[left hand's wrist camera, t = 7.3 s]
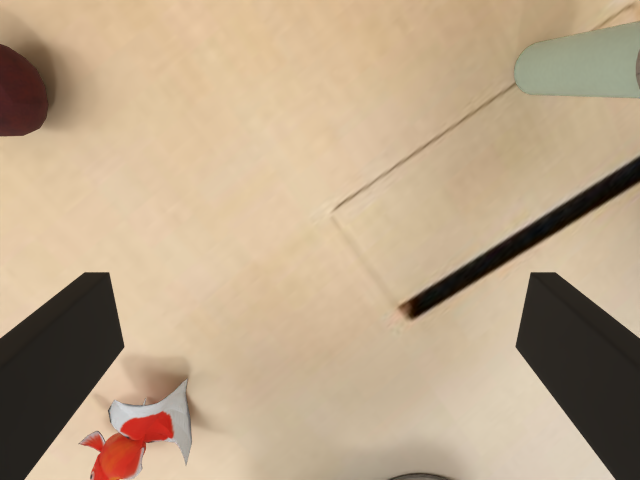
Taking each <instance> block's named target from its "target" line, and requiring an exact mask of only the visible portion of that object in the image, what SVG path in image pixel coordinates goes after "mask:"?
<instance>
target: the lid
mask: <svg viewBox="0 0 640 480" xmlns="http://www.w3.org/2000/svg"><path fill="white" fill-rule="evenodd" d="M636 79H637V83H638V86H639V89H640V50H639V53H638V56H637V60H636Z"/></svg>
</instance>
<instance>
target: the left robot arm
mask: <svg viewBox="0 0 640 480" xmlns="http://www.w3.org/2000/svg"><path fill="white" fill-rule="evenodd" d="M123 348H124V342H123V337H122V332H121V327H120V323H119V318H118V313H117V308H116V303H115V298H114V293H113V289H112V284H111V279H110V274H109V272H85V273H83V274H82V275H81V276H79V277H78V278H77V279H76V280H74V281H73V282H72V283H70V284H69V285H68V286H67V287H65V288H64V289H63V290H62V291H60V292H59V293H58V294H56V295H55V296H54V297H53V298H51V299H50V300H49V301H48V302H46V303H45V304H44V305H42V306H41V307H40V308H39V309H37V310H36V311H35V312H33V313H32V314H31V315H30V316H28V317H27V318H26V319H25V320H23V321H22V322H21V323H19V324H18V325H17V326H16V327H14V328H13V329H12V330H11V331H9V332H8V333H7V334H5V335H4V336H3V337H2V338H0V480H24V479H25V478H26V477H27V475H28V474H29V473H30V471H31V470H32V469H33V467H34V466H35V465H36V463H37V462H38V461H39V460H40V458H41V457H42V456H43V454H44V453H45V452H46V450H47V449H48V448H49V446H50V445H51V444H52V442H53V441H54V440H55V438H56V437H57V436H58V434H59V433H60V432H61V430H62V429H63V428H64V426H65V425H66V424H67V422H68V421H69V420H70V418H71V417H72V416H73V414H74V413H75V412H76V410H77V409H78V408H79V407H80V405H81V404H82V403H83V401H84V400H85V399H86V397H87V396H88V395H89V393H90V392H91V391H92V389H93V388H94V387H95V385H96V384H97V383H98V381H99V380H100V379H101V377H102V376H103V375H104V373H105V372H106V371H107V369H108V368H109V367H110V365H111V364H112V363H113V361H114V360H115V359H116V357H117V356H118V355H119V354H120V352H121V351H122V350H123ZM516 348H517V350H518V351H519V352H520V354H521V355H522V356H523V357H524V359H525V360H526V361H527V363H528V364H529V365H530V367H531V368H532V369H533V371H534V372H535V373H536V375H537V376H538V377H539V379H540V380H541V381H542V383H543V384H544V385H545V387H546V388H547V389H548V391H549V392H550V393H551V395H552V396H553V397H554V399H555V400H556V401H557V403H558V404H559V405H560V407H561V408H562V409H563V410H564V412H565V413H566V414H567V416H568V417H569V418H570V420H571V421H572V422H573V424H574V425H575V426H576V428H577V429H578V430H579V432H580V433H581V434H582V436H583V437H584V438H585V440H586V441H587V442H588V444H589V445H590V446H591V448H592V449H593V450H594V452H595V453H596V454H597V456H598V457H599V458H600V460H601V461H602V462H603V463H604V465H605V466H606V467H607V469H608V470H609V471H610V473H611V474H612V475H613V477H614V478H615V479H616V480H640V338H638V337H637V336H636V335H635V334H633V333H632V332H631V331H629V330H628V329H627V328H626V327H624V326H623V325H622V324H621V323H619V322H618V321H617V320H615V319H614V318H613V317H612V316H610V315H609V314H608V313H607V312H605V311H604V310H603V309H601V308H600V307H599V306H598V305H596V304H595V303H594V302H592V301H591V300H590V299H589V298H587V297H586V296H585V295H584V294H582V293H581V292H580V291H578V290H577V289H576V288H575V287H573V286H572V285H571V284H570V283H568V282H567V281H566V280H564V279H563V278H562V277H561V276H559V275H558V274H557V273H555V272H531V274H530V279H529V284H528V289H527V293H526V298H525V303H524V308H523V313H522V318H521V323H520V327H519V332H518V337H517V342H516ZM392 480H447V479H444V478H441V477H438V476H433V475H425V474H415V475H407V476H402V477H398V478H395V479H392Z"/></svg>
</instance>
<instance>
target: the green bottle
mask: <svg viewBox="0 0 640 480" xmlns="http://www.w3.org/2000/svg"><path fill="white" fill-rule="evenodd" d="M639 50H640V21H637V22H632V23H628V24H623V25H618V26H613V27H609V28H604V29H599V30H594V31H589V32H585V33H580V34H575V35H570V36H566V37H561V38H556V39H551V40H546V41H542V42H537V43H534V44H532V45H530V46H529V47H527V48H526V49H525V50H524V51H523V52H522V53H521V54H520V56H519V58H518V60H517V62H516V64H515V69H514V78H515V82H516V84H517V86H518V87H519V88H520V89H521V90H522V91H523V92H525V93H527V94H530V95H552V96H583V97H613V98H640V89H639V86H638V83H637V79H636V60H637V56H638V53H639Z"/></svg>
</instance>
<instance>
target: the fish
mask: <svg viewBox="0 0 640 480" xmlns="http://www.w3.org/2000/svg"><path fill="white" fill-rule="evenodd" d="M187 380H188V378H187V379H186V380H185V381H183V382H182V383H181V384H180V385H179V386H178V387H177V388H176V390H175V391H174V392H172V393H171V394H170V395H168V396H167V397H166V398H164V399H163V400H161V401H160V402H159V403H156V404H151V405H145V402H146V398H145V401H144V403H143V405H129V404H123V403H120V402H118V401H116V400H114V401H113V403H112V405H111V406H110V408H109V410H108V412H109V417H110V422H111V424H112V425H113V427H114V428H115V429H116V430H117V431H119V432H118V433H117V434H114V435H113V436H111V437H110V438H109V439H108V440H107V441H106V442H105V440H104V438H103V436H102V435H101V433H100V432H99V431H96V432H93V433H91V434H90V435H88V436H87V437H86V438H85V439H83V440H82V441H81V442H80V443H79V444H81V445H84V446H89V447H92V448H94V449H96V450H98V451H99V452H101V453H100V454H99V455H98V457H97V459H96V462H95V464H94V467H93V469H92V472H91V477H90V479H91V480H119V479H123V480H129V479H133V478H135V477H136V476H137V475H138V474H139V473H140V471H141V470H142V457H143V455H144V453H145V450H146V443H150V442H157V441H168V442H175V443H176V444H177V445H178V446H179V448H180V450H181V452H182V454H183V457H184V460H185V464H186V465H187V460H188V456H189V452H190V448H191V444H192V437H191V421H190V414H189V409H188V404H187V398H186V387H187ZM145 442H146V443H145Z"/></svg>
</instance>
